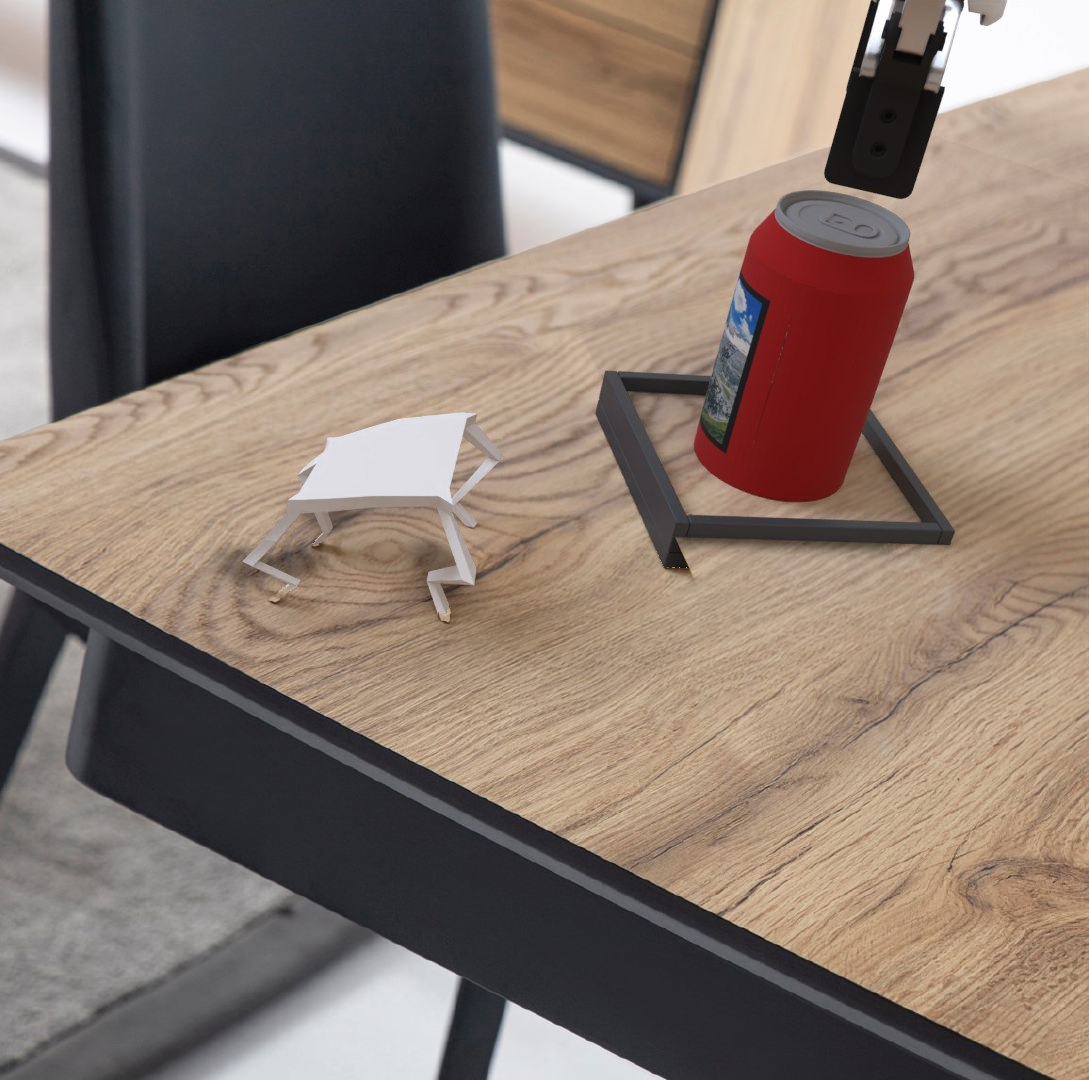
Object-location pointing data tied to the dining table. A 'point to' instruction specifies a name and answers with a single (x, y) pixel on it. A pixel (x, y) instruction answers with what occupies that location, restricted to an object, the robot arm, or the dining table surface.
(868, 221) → the beverage can
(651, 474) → the open square outline
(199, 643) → the dining table surface
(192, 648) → the dining table surface
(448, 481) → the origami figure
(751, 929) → the dining table surface
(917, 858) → the dining table surface
